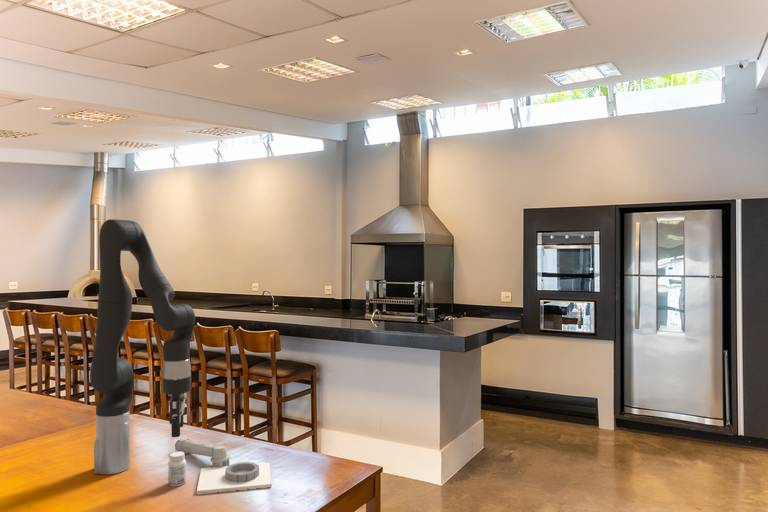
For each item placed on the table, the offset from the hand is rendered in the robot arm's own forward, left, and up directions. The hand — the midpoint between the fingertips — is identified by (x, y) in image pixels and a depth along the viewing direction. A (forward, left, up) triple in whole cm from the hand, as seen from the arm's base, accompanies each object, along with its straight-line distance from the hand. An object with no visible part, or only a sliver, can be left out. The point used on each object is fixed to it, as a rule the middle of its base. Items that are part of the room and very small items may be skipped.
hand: (177, 431), depth 161 cm
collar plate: (+16, -1, -15) cm, 22 cm away
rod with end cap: (+5, +17, -15) cm, 24 cm away
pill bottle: (0, 0, -15) cm, 15 cm away
